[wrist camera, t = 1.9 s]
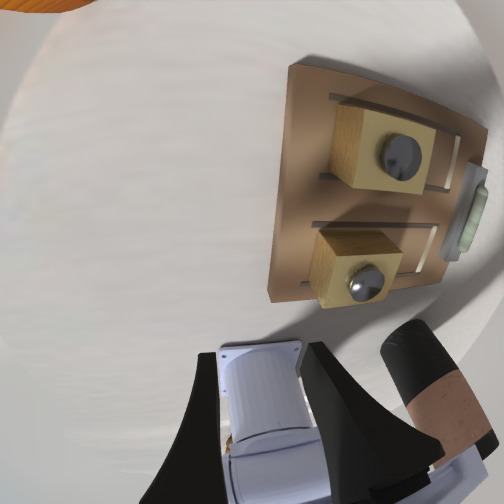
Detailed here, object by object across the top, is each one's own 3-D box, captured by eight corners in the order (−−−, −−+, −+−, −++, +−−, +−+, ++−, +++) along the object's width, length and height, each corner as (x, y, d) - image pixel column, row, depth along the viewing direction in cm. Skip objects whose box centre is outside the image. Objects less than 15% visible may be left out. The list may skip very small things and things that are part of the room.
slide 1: (394, 177, 16) (428, 199, 13) (328, 170, 15) (358, 192, 12) (404, 120, 14) (443, 132, 11) (337, 104, 13) (371, 110, 10)
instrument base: (432, 273, 24) (453, 297, 21) (267, 289, 21) (278, 326, 18) (476, 125, 16) (508, 137, 13) (288, 66, 13) (313, 59, 10)
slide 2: (366, 275, 20) (388, 306, 17) (308, 280, 19) (325, 315, 16) (380, 230, 18) (408, 258, 15) (318, 230, 17) (341, 262, 14)
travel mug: (433, 324, 30) (502, 438, 14) (394, 361, 33) (450, 474, 16) (412, 310, 27) (497, 451, 10) (367, 353, 30) (430, 492, 13)
